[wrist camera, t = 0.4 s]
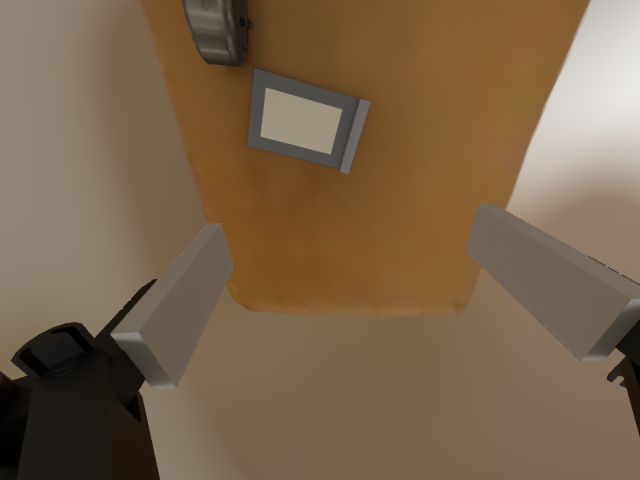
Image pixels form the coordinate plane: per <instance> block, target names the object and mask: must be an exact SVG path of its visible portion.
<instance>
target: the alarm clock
mask: <svg viewBox="0 0 640 480" xmlns="http://www.w3.org/2000/svg"><path fill="white" fill-rule="evenodd" d="M182 3H183V7H184V11H185V15H186V19H187V22H188V26H189V29H190V33H191V35H192V38H193V40H194V43H195V45H196V48H197V49H198V51H199V53H200V55H201V56H202V58H203V59H204V60H205V61H206V62H207V63H208V64H217V65H227V66H240V65H241V64H242V63H243V62H244V60H245V58H246V54H247V43H248V29H247V26H248V27H249V28H253V23H252V22H251V21H249V20H248V18H247V11H246V0H182Z"/></svg>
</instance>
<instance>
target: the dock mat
mask: <svg viewBox="0 0 640 480" xmlns="http://www.w3.org/2000/svg"><path fill="white" fill-rule="evenodd" d="M370 103H371V101H367V100H364V99H357V98H354V97H351V96H347V95H344V94H341V93H337V92H334V91H331V90H327V89H324V88H321V87H317V86H314V85H310V84H307V83H304V82H300V81H297V80H294V79H290V78H287V77H284V76H280V75H277V74H273V73H270V72H267V71H263V70H260V69H257V68H254V75H253V86H252V98H251V109H250V120H249V132H248V143H247V146H250V147H254V148H258V149H262V150H266V151H270V152H274V153H278V154H282V155H286V156H290V157H294V158H298V159H302V160H306V161H310V162H314V163H318V164H322V165H326V166H330V167H334V168H338V169H339V171H340V172H343V173H347V174H349V171H350V168H351V164H352V161H353V158H354V155H355V151H356V148H357V145H358V142H359V138H360V135H361V132H362V129H363V125H364V122H365V119H366V116H367V112H368V109H369V106H370Z"/></svg>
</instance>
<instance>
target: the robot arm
mask: <svg viewBox="0 0 640 480" xmlns="http://www.w3.org/2000/svg"><path fill="white" fill-rule="evenodd" d="M465 251H466V252H467V253H468V254H469V255H470V256H471V257H472V258H473V259H474V260H475V261H476V262H477V263H478V264H479V265H480V266H482V267H483V268H484V269H485V270H486V271H487V272H488V273H489V274H490V275H491V276H492V277H493V278H494V279H495V280H496V281H497V282H498V283H499V284H500V285H501V286H502V287H503V288H504V289H505V290H506V291H508V292H509V294H511V295H512V296H513V297H514V298H515V299H516V300H517V301H518V302H519V303H520V304H521V305H522V306H523V307H524V308H525V309H526V310H527V311H528V312H529V313H530V314H531V315H532V316H533V317H534V318H535V319H536V320H538V322H540V323H541V324H542V325H543V326H544V327H545V328H546V329H547V330H548V331H549V332H550V333H551V334H552V335H553V336H554V337H555V338H556V339H557V340H558V341H559V342H560V343H561V344H562V345H563V346H564V347H565V348H566V349H567V350H569V351H570V352H571V353H572V354H573V355H574V356H575V357H576V358H577V359H578V360H579V361H580V362H587V361H603V360H605V359H606V358H607V357H608V356H609V355H610V353H611V352H612V351H613V350H614V349H615V348H617V349H618V350H619V351H620V352H622V353H623V354H624V355H626V357H625V358H624V359H623V360H622V361H621V362H620V363H619V364H618V365H617V366H616V367H615V368H614V369H613V370H612V371H611V372H610V373H609V374H608V376H607V380H608V381H611V382H612V381H614V380H615V379H616V377H617V376H623V377H624V380H623V381H622V382H621V383H620V386H623V387H625V388H627V391H628V395H629V399H630V403H631V406H632V410H633V413H634V417H635V421H636V424H637V428H638V432H639V435H640V284H638V283H636V282H635V281H633V280H631V279H629V278H627V277H626V276H624V275H620V274H619V273H618V272H616V271H615V270H613V269H611V268H609V267H606V266H605V265H604V264H602V263H600V262H598V261H597V260H595V259H593V258H591V257H589V256H586V255H584V254H583V253H581V252H579V251H577V250H575V249H574V248H572V247H570V246H568V245H567V244H565V243H563V242H561V241H559V240H558V239H556V238H554V237H552V236H550V235H548V234H547V233H545V232H543V231H541V230H540V229H538V228H536V227H534V226H532V225H531V224H529V223H527V222H525V221H523V220H522V219H520V218H518V217H516V216H514V215H513V214H511V213H509V212H507V211H505V210H504V209H502V208H500V207H498V206H496V205H495V204H485V205H478V208H477V212H476V215H475V219H474V222H473V225H472V229H471V232H470V236H469V239H468V242H467V246H466V249H465ZM233 268H234V264H233V260H232V257H231V254H230V251H229V247H228V244H227V241H226V237H225V234H224V231H223V228H222V224H221V223H214V224H206V225H205V226H204V227H203V228H202V229H201V231H200V232H199V233H198V234H197V235H196V237H194V239H193V240H192V241H191V242H190V243H189V245H187V247H186V248H185V249H184V250H183V251H182V252H181V254H180V255H179V256H178V257H177V258H176V259H175V260H174V261H173V263H172V264H171V265H170V266H169V267H168V268H167V269H166V271H165V272H164V273H163V274H162V275H161V276H160V277H159V279H154V280H152V281H151V282H149V283H148V284H146V285H145V286H143V287H142V288H141V289H140V290H139V291H138V292H137V293H136V294H135V295H134V296H133V297H132V298H131V301H128V303H127V304H126V305H125V306H124V307H123V309H121V310H120V311H119V312H118V313H117V314H116V315H115V317H114V318H113V319H112V320H111V321H110V322H109V323H108V324H107V325H106V326H105V327H104V329H102V331H101V332H100V333H99V334H98V335H97V336H96V337H95V338H94V337H93V336H92V335H91V334H90V333H89V332H88V330H87V329H86V328H85V327H84V326H83V325H82V323H77V322H72V323H65V324H62V325H59V326H56V327H53V328H51V329H49V330H47V331H45V332H43V333H41V334H39V335H37V336H36V337H34V338H33V339H32V340H30V341H29V342H27V343H26V344H25V345H23V346H22V347H21V348H20V349H19V350H18V351H17V352H16V353H15V355H14V356H13V358H12V360H11V362H13V363H14V364H15V365H16V366H17V367H18V368H20V369H21V370H22V371H23V372H24V373H26V374H27V375H28V376H25V377H22V378H19V379H15V380H11V379H10V378H8V377H7V376H6V375H5V374H3V373H2V372H1V371H0V480H160V478H159V473H158V468H157V463H156V458H155V454H154V449H153V444H152V440H151V435H150V431H149V426H148V421H147V416H146V412H145V407H144V403H143V397H142V396H141V394H140V392H139V389H140V387H141V386H142V384H143V382H144V381H145V380H146V381H147V382H148V384H149V385H150V386H151V388H152V389H153V390H157V389H172V388H177V386H178V384H179V382H180V379H181V377H182V375H183V373H184V371H185V369H186V367H187V365H188V363H189V361H190V358H191V356H192V354H193V352H194V350H195V348H196V346H197V344H198V342H199V340H200V338H201V335H202V333H203V331H204V329H205V327H206V325H207V323H208V321H209V319H210V317H211V314H212V312H213V310H214V308H215V306H216V304H217V302H218V300H219V297H220V296H221V293H222V291H223V289H224V287H225V285H226V283H227V281H228V279H229V277H230V275H231V272H232V270H233Z"/></svg>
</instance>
